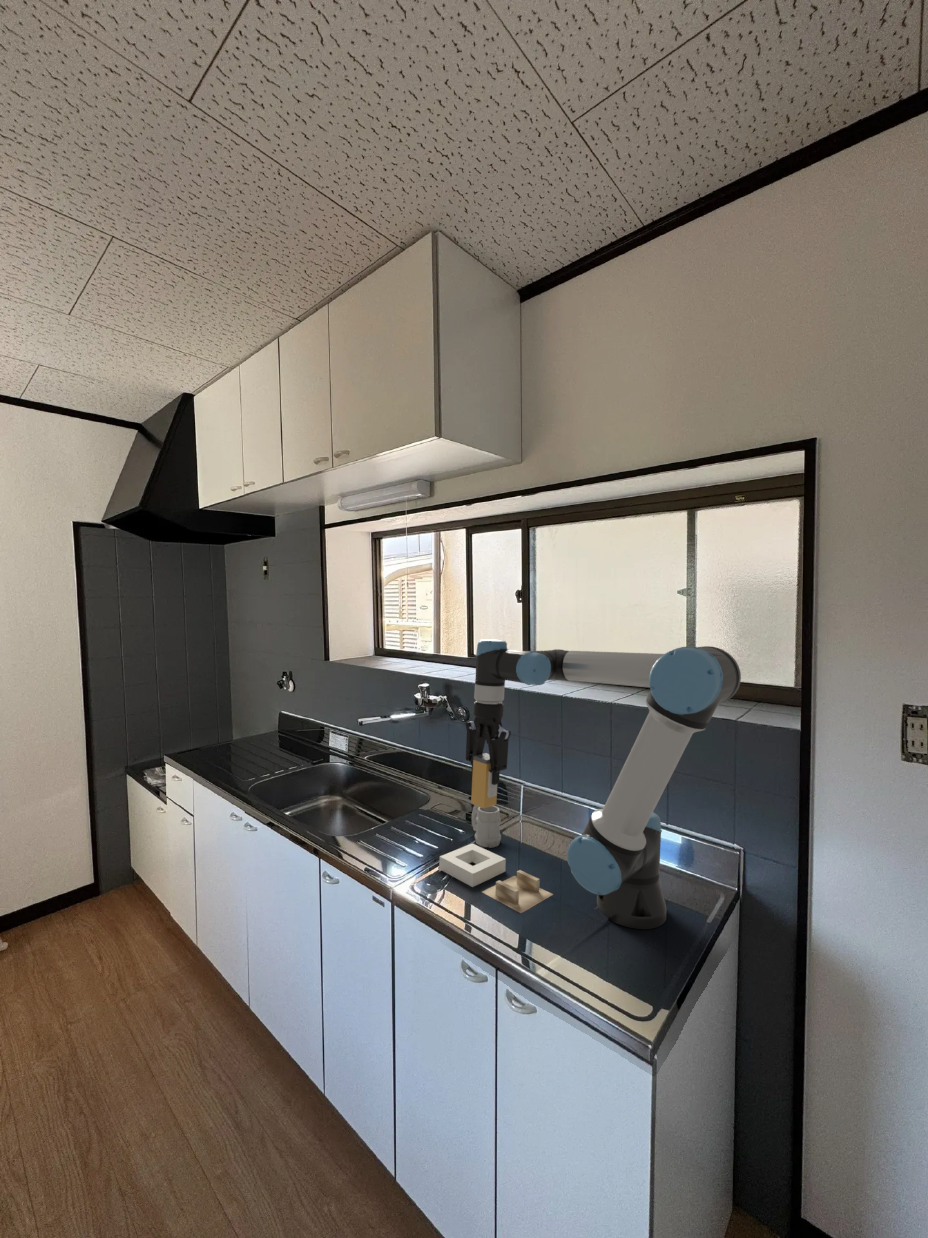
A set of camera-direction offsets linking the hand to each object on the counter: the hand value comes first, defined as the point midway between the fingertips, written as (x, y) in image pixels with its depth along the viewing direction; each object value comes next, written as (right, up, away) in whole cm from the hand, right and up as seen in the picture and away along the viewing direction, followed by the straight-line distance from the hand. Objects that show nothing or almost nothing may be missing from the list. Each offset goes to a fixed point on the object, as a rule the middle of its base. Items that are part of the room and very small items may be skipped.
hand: (484, 793), depth 133 cm
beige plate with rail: (+8, -22, -8) cm, 24 cm away
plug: (0, -3, 0) cm, 3 cm away
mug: (+1, -22, +23) cm, 32 cm away
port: (-3, -21, +2) cm, 22 cm away
